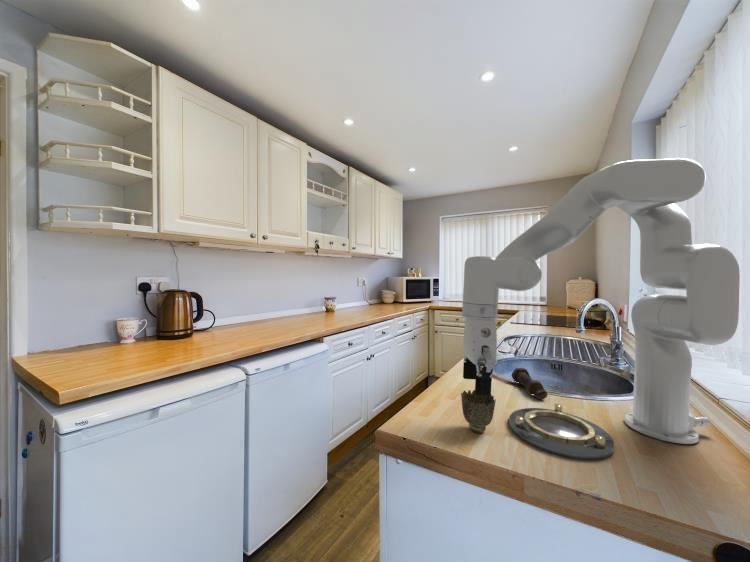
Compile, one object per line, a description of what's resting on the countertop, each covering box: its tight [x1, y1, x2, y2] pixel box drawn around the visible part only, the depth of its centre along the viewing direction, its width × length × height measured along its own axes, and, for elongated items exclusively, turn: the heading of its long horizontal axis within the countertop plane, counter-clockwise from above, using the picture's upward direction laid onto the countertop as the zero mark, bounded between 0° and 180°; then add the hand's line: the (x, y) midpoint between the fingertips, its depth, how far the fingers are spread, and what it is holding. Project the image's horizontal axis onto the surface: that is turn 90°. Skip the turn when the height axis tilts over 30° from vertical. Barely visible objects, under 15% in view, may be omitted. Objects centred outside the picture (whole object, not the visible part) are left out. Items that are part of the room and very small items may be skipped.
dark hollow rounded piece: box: [460, 389, 496, 434], centre depth 69 cm, size 8×7×8 cm
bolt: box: [511, 367, 548, 400], centre depth 93 cm, size 6×5×15 cm
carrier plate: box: [508, 403, 615, 461], centre depth 68 cm, size 20×20×3 cm
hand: (475, 386), depth 69 cm, fingers open, 9 cm apart
